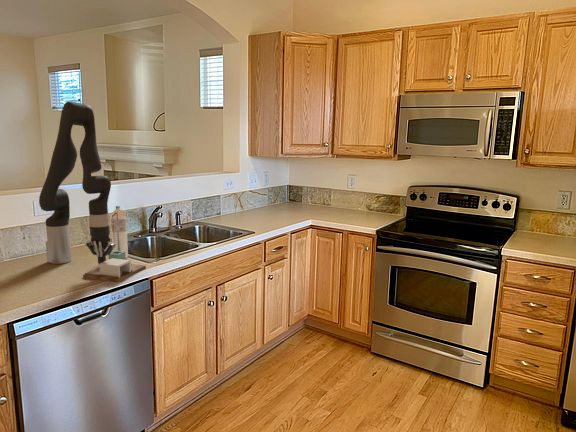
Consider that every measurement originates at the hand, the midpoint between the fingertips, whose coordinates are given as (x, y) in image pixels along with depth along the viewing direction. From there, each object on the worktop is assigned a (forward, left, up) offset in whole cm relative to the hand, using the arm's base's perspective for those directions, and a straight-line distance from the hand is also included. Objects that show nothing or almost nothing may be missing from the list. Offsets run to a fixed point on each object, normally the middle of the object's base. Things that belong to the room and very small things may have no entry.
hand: (102, 264), depth 183 cm
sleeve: (0, +10, -3) cm, 11 cm away
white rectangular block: (+6, 0, -3) cm, 7 cm away
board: (+3, +5, -5) cm, 7 cm away
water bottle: (-9, +25, -5) cm, 27 cm away
